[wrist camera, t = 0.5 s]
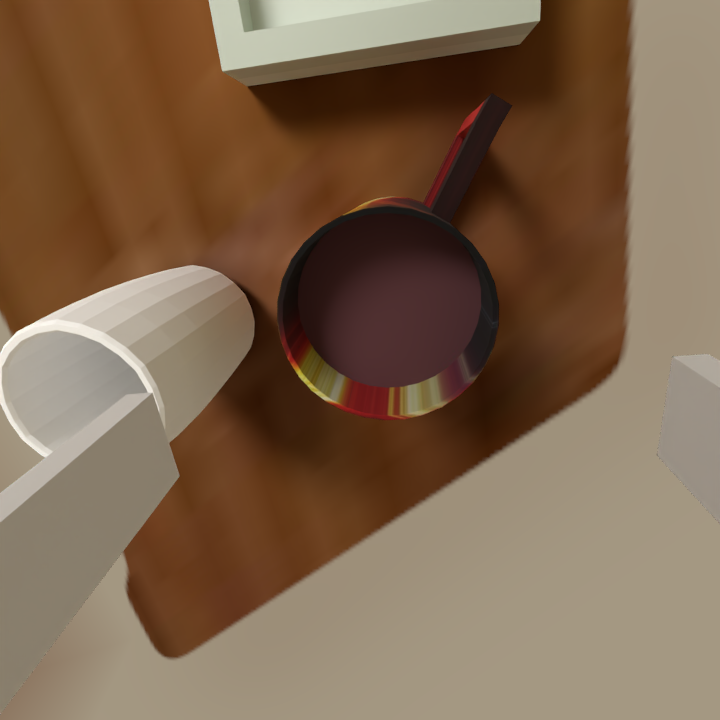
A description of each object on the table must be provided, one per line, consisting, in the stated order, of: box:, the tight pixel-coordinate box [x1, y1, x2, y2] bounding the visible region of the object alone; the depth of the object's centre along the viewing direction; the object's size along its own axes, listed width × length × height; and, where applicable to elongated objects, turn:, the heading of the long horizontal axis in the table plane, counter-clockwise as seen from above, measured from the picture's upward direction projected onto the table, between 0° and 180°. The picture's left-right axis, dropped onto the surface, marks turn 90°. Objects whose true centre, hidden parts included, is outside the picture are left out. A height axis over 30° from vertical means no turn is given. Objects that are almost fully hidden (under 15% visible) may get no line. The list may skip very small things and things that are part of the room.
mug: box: [277, 94, 512, 420], centre depth 24 cm, size 10×14×12 cm
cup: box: [0, 265, 255, 458], centre depth 26 cm, size 8×8×14 cm
